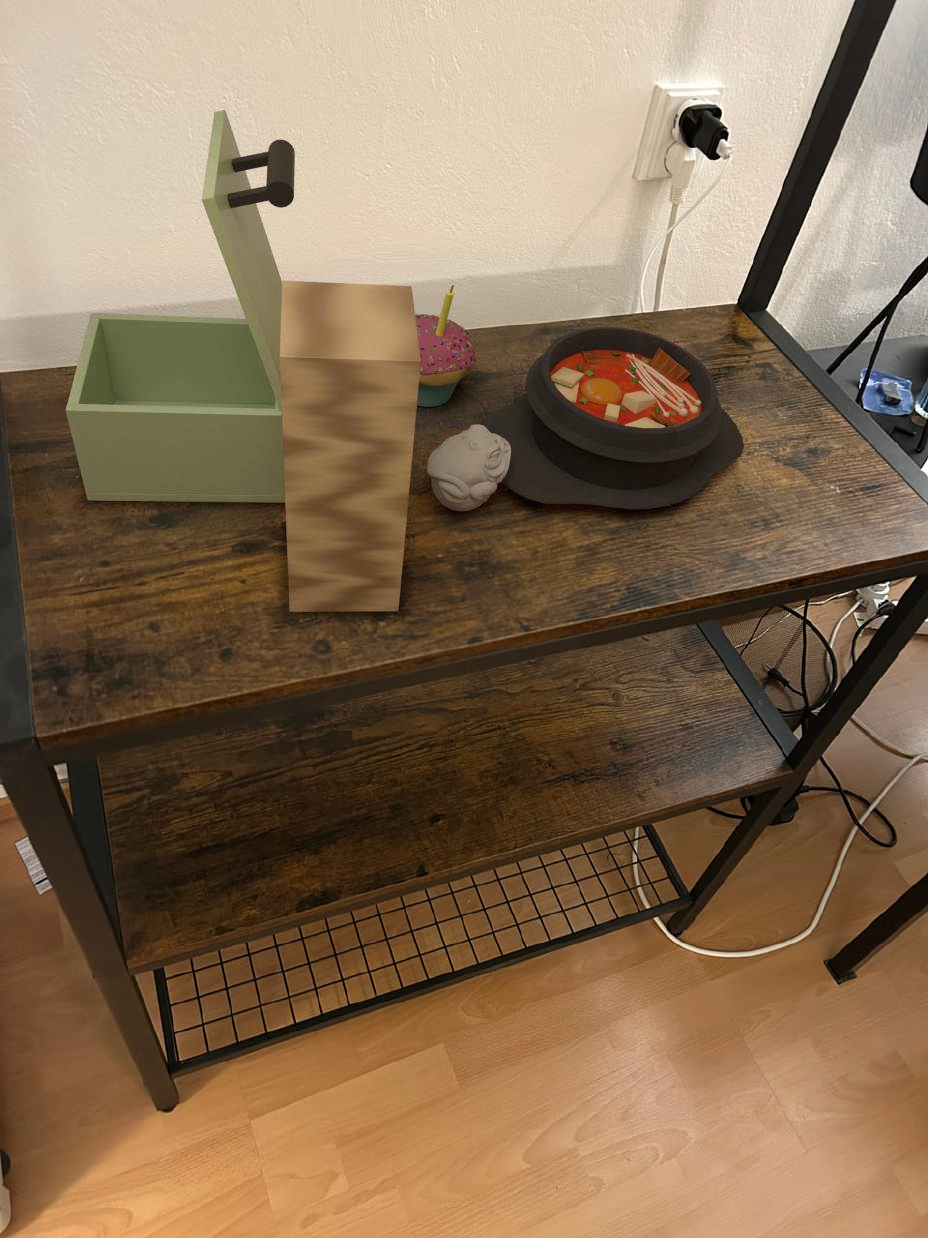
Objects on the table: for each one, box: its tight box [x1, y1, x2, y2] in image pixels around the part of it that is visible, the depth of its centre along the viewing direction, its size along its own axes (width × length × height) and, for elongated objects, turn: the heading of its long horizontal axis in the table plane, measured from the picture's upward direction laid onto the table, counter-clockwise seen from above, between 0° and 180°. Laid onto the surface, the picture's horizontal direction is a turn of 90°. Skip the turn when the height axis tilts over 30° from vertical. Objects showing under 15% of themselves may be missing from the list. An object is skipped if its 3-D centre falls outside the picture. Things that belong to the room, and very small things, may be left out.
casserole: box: [479, 326, 745, 510], centre depth 84 cm, size 25×19×8 cm
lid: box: [201, 109, 296, 411], centre depth 69 cm, size 16×13×5 cm
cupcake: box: [415, 284, 477, 408], centre depth 86 cm, size 9×8×12 cm
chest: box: [65, 312, 285, 504], centre depth 78 cm, size 16×13×9 cm
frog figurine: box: [426, 423, 511, 512], centre depth 78 cm, size 6×7×7 cm
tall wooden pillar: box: [280, 280, 421, 613], centre depth 66 cm, size 8×8×22 cm
